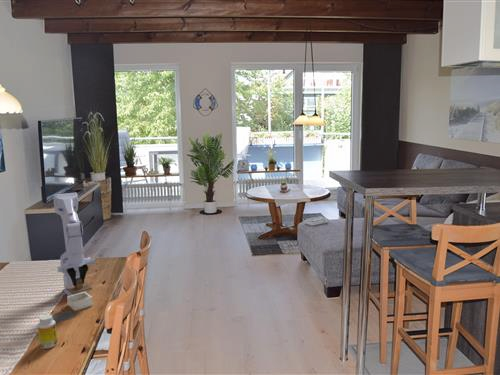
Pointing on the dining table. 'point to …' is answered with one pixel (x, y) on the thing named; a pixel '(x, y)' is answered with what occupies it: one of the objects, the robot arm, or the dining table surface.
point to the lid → (78, 287)
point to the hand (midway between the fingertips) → (78, 284)
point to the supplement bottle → (47, 332)
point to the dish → (80, 301)
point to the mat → (63, 316)
